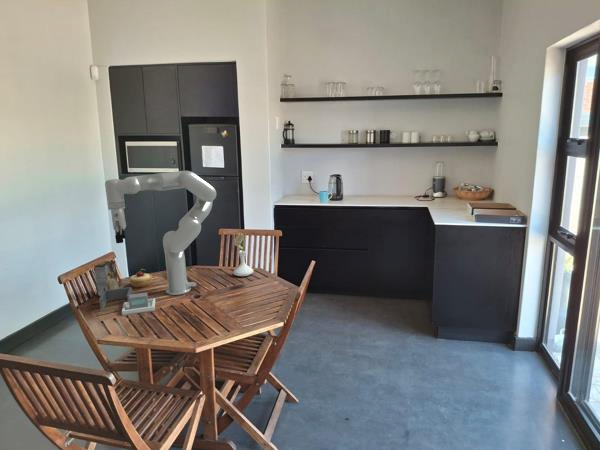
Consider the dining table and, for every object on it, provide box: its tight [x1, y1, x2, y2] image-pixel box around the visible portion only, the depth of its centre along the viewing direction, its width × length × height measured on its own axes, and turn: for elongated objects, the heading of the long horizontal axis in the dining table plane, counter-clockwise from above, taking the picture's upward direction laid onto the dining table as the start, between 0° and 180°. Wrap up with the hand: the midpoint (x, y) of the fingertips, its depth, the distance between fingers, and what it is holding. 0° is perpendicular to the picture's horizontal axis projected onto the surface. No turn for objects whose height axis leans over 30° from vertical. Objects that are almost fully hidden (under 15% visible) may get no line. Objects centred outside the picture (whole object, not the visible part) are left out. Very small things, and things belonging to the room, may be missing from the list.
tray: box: [121, 297, 156, 317], centre depth 209 cm, size 14×12×2 cm
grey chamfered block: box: [128, 292, 149, 309], centre depth 209 cm, size 8×5×6 cm, turn 106°
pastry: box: [128, 268, 154, 289], centre depth 243 cm, size 12×12×9 cm
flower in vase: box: [232, 232, 254, 277], centre depth 250 cm, size 13×11×25 cm
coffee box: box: [93, 260, 120, 297], centre depth 232 cm, size 9×6×16 cm
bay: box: [98, 286, 134, 310], centre depth 218 cm, size 13×14×5 cm
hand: (120, 240), depth 215 cm, fingers open, 9 cm apart
